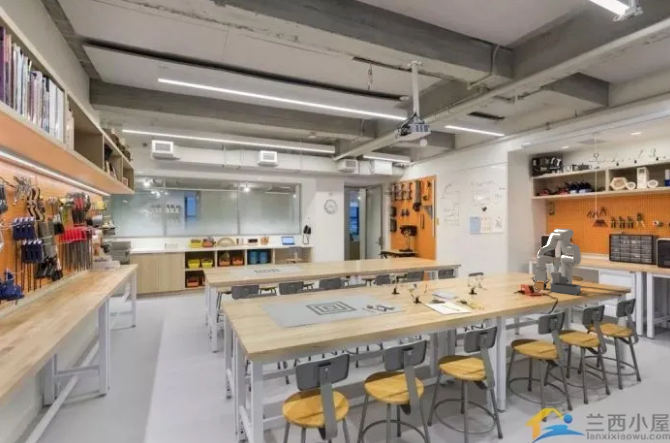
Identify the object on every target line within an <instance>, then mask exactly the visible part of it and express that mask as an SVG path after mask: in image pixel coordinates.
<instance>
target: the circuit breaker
mask: <svg viewBox="0 0 670 443" xmlns="http://www.w3.org/2000/svg"><path fill="white" fill-rule="evenodd" d="M550 278H551V279H550V281H549V284H550V286H549V287H550V288H551V284H553V283H555V282H560V283H567V281H568V280H567V277H565V276H561V271H550Z"/></svg>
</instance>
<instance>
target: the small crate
mask: <svg viewBox="0 0 670 443" xmlns="http://www.w3.org/2000/svg"><path fill="white" fill-rule="evenodd" d="M544 284H545V283H544V281H538V280H537V282H535V283H534V289H535V288H538V289H537V290H541V291H543V290H546V288H547V287H546V288H544Z"/></svg>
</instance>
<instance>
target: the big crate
mask: <svg viewBox="0 0 670 443" xmlns="http://www.w3.org/2000/svg"><path fill="white" fill-rule="evenodd" d="M581 288H582V285H581V284H575V283H572V284H568V283H560V282H555V283H553V284H551V287H550V293H554V294H556V293H557V294H561V295H562V294H564V295H571V296H577V297H578V295H580V294H581V293H582V292H581V291H582V290H581Z"/></svg>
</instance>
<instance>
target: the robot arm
mask: <svg viewBox="0 0 670 443" xmlns="http://www.w3.org/2000/svg"><path fill="white" fill-rule="evenodd" d="M573 236H574V230H573V229H571V228H555V229H554V230H553V231H552V232H550V233H549V236H548V239H547V242H546V244H545V246H543V247H541V248H540V249H539V250H538V252H537V254H536V265H535V266H536V267H535V268H536V269H535V271H534V275H533V276H532V277H531V278H530V279H531V280H532V281H533V283H534V284H535V282H537V281H540V282H544V283H545V284H544V288H547V284H549V283H550V282H551V279H550V278H549V277H548V273H547V272H548V271H547V270H548V268H547V266H546V265H547V264H548V265H549V264H553V262H554V258H553V256H551V255H545V254H546V253H547V252H549V251H552V250H555V249H557V245H558V242H559V243H560V250H561V252H562V253H563V254H562V255H560V258H559V260H560V264H561V266H560V270H561V271H560V273H561V276H565V277H567V280H568V281H567V283H568V284H573V266H572V265H575V266H576V265H580V264H581V262H582V257H581V249H580V246H579V245H577V244H573V243H572V242H571V238H573Z"/></svg>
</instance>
